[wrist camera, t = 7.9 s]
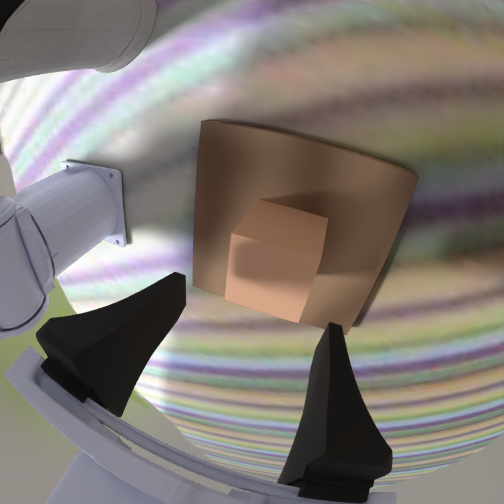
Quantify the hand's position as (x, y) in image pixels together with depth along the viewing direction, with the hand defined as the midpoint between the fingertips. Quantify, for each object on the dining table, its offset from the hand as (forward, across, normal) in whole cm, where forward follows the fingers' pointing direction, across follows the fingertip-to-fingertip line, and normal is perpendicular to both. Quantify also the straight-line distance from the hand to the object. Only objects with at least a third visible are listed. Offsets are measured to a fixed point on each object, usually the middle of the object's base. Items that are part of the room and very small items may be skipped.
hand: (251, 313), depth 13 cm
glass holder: (+9, +19, -17) cm, 27 cm away
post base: (+8, 0, 0) cm, 8 cm away
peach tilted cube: (+7, 0, 0) cm, 7 cm away
